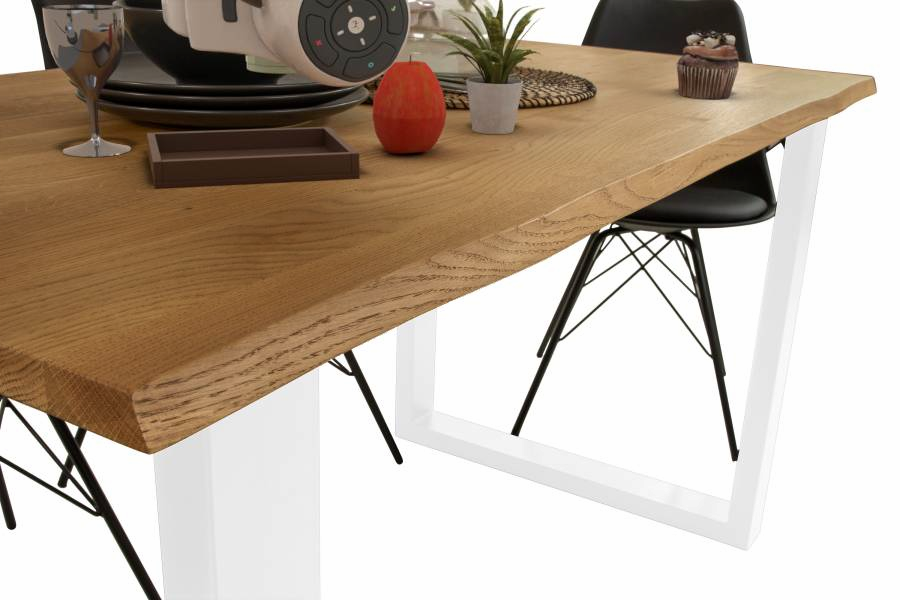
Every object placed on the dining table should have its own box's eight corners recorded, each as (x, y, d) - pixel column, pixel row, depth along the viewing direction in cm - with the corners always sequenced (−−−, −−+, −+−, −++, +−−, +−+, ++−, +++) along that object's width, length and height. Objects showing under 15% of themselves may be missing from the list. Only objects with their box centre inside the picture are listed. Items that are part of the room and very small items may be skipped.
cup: (252, 74, 84) (246, -66, 80) (242, 65, 90) (236, -66, 86) (326, 73, 86) (323, -64, 82) (312, 64, 92) (309, -65, 88)
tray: (155, 189, 94) (152, 161, 93) (148, 157, 107) (146, 132, 106) (359, 179, 100) (359, 153, 99) (329, 149, 113) (329, 126, 112)
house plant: (493, 115, 137) (497, -10, 131) (573, 130, 128) (582, -4, 122) (417, 127, 127) (419, -8, 122) (499, 143, 118) (505, -1, 113)
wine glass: (118, 140, 115) (106, 3, 110) (146, 152, 109) (134, 9, 104) (48, 147, 110) (31, 5, 105) (73, 160, 105) (57, 11, 99)
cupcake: (747, 96, 159) (755, 31, 156) (713, 102, 153) (720, 34, 149) (695, 89, 166) (702, 26, 162) (661, 94, 159) (667, 29, 156)
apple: (417, 163, 107) (418, 61, 104) (356, 153, 111) (355, 54, 108) (458, 151, 114) (461, 54, 110) (399, 142, 118) (400, 48, 114)
